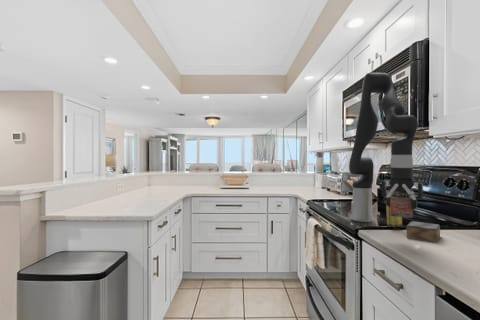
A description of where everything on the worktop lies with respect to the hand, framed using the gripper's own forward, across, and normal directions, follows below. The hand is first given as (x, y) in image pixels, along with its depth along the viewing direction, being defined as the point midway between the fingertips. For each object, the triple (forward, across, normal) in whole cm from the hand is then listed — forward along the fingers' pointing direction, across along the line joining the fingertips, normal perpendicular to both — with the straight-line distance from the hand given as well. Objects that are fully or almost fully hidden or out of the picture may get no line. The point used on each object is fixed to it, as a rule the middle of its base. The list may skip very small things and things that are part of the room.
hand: (401, 208), depth 105 cm
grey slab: (+13, -5, -12) cm, 18 cm away
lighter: (+3, 0, 0) cm, 3 cm away
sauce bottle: (+14, +8, -22) cm, 27 cm away
